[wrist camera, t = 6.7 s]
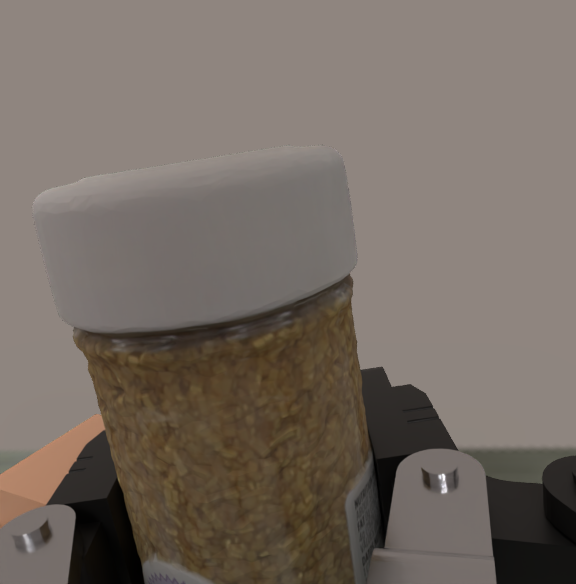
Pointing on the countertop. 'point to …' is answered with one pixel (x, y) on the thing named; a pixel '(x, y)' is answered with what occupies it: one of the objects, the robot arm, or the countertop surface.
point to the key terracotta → (43, 471)
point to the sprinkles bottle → (224, 361)
